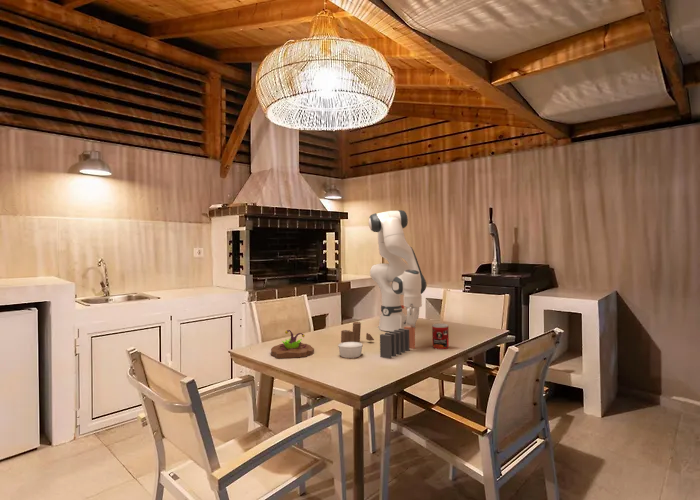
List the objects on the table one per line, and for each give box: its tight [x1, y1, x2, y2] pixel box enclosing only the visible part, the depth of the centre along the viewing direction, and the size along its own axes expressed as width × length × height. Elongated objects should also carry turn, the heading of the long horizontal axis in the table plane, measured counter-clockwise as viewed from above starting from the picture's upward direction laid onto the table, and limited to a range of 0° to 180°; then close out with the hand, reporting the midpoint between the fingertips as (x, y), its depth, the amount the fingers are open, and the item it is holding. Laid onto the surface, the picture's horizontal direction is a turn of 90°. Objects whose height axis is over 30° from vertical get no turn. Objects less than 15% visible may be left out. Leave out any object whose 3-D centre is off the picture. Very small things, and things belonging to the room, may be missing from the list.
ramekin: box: [337, 342, 363, 359], centre depth 188 cm, size 11×11×5 cm
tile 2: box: [394, 330, 406, 354], centre depth 194 cm, size 2×5×10 cm, turn 52°
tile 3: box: [389, 331, 402, 356], centre depth 191 cm, size 2×5×10 cm, turn 52°
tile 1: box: [399, 328, 411, 352], centre depth 197 cm, size 2×5×10 cm, turn 52°
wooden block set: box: [340, 321, 375, 343], centre depth 212 cm, size 18×9×10 cm, turn 127°
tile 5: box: [379, 333, 393, 359], centre depth 184 cm, size 2×5×10 cm, turn 52°
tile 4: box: [384, 332, 397, 357], centre depth 187 cm, size 2×5×10 cm, turn 52°
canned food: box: [431, 323, 450, 350], centre depth 201 cm, size 8×8×11 cm
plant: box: [270, 329, 315, 359], centre depth 196 cm, size 20×20×11 cm
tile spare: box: [404, 327, 416, 350], centre depth 201 cm, size 2×5×10 cm, turn 52°
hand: (413, 330), depth 204 cm, fingers closed
